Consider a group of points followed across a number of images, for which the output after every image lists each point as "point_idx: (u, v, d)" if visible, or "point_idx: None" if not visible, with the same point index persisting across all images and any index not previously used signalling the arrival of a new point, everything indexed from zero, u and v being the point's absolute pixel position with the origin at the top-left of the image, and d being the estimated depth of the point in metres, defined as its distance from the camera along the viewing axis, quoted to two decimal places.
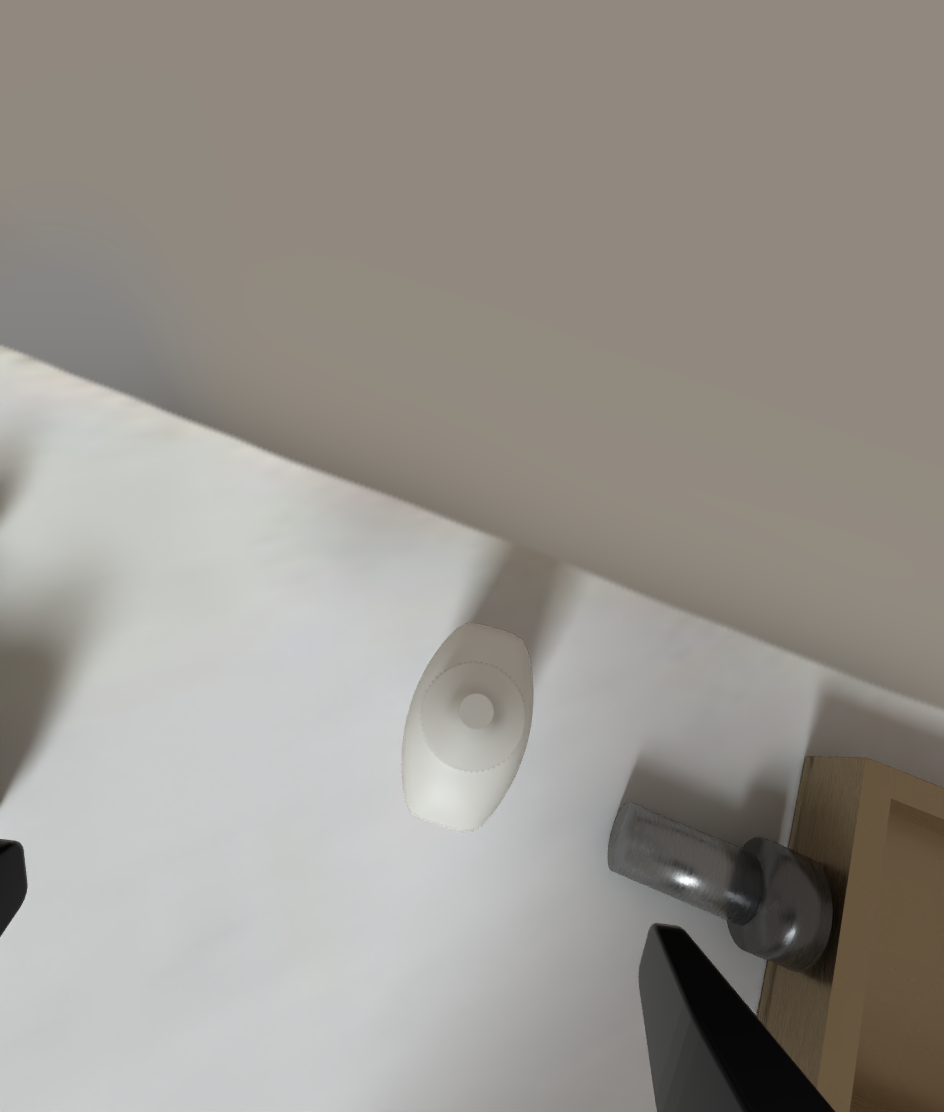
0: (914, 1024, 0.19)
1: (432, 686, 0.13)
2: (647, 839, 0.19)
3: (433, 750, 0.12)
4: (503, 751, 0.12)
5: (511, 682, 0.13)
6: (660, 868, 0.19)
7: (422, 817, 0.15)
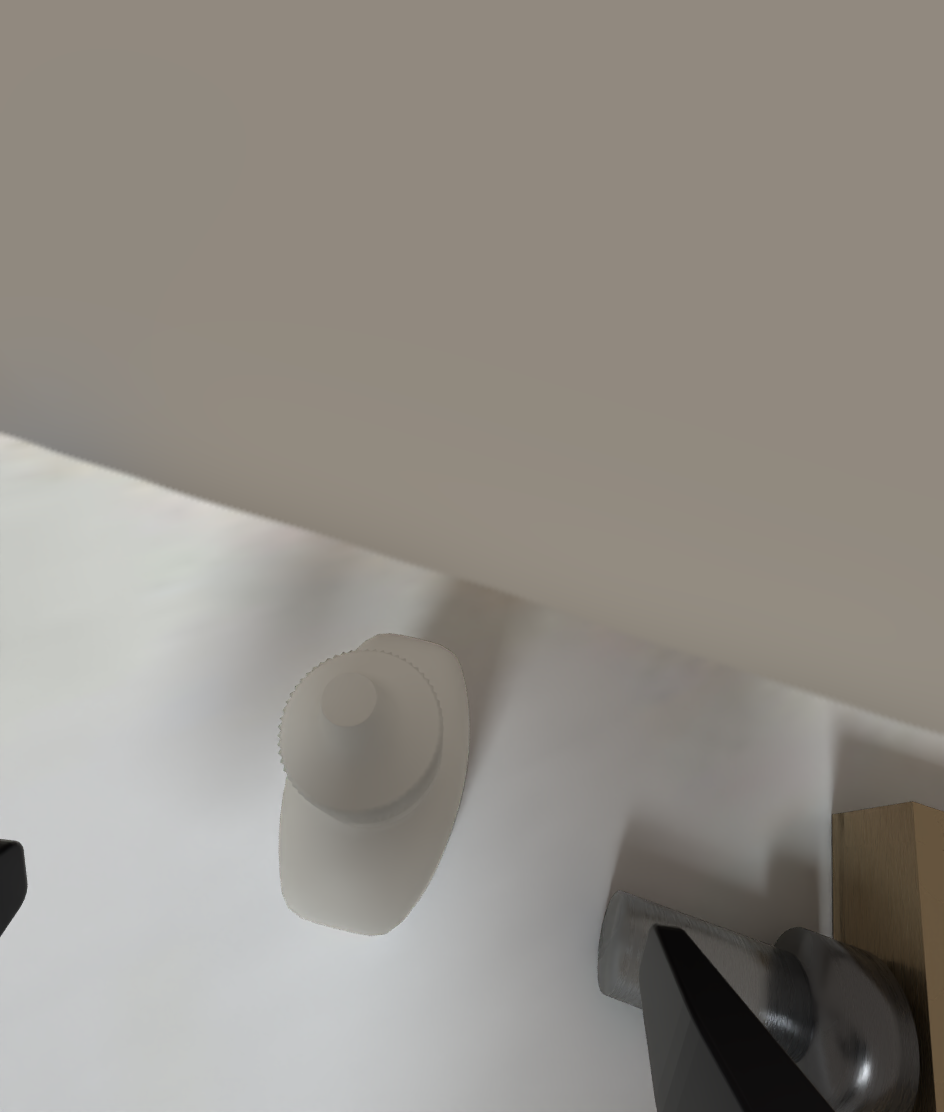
0: None
1: (299, 686, 0.08)
2: None
3: (295, 782, 0.08)
4: (405, 777, 0.08)
5: (418, 674, 0.09)
6: None
7: (305, 915, 0.10)
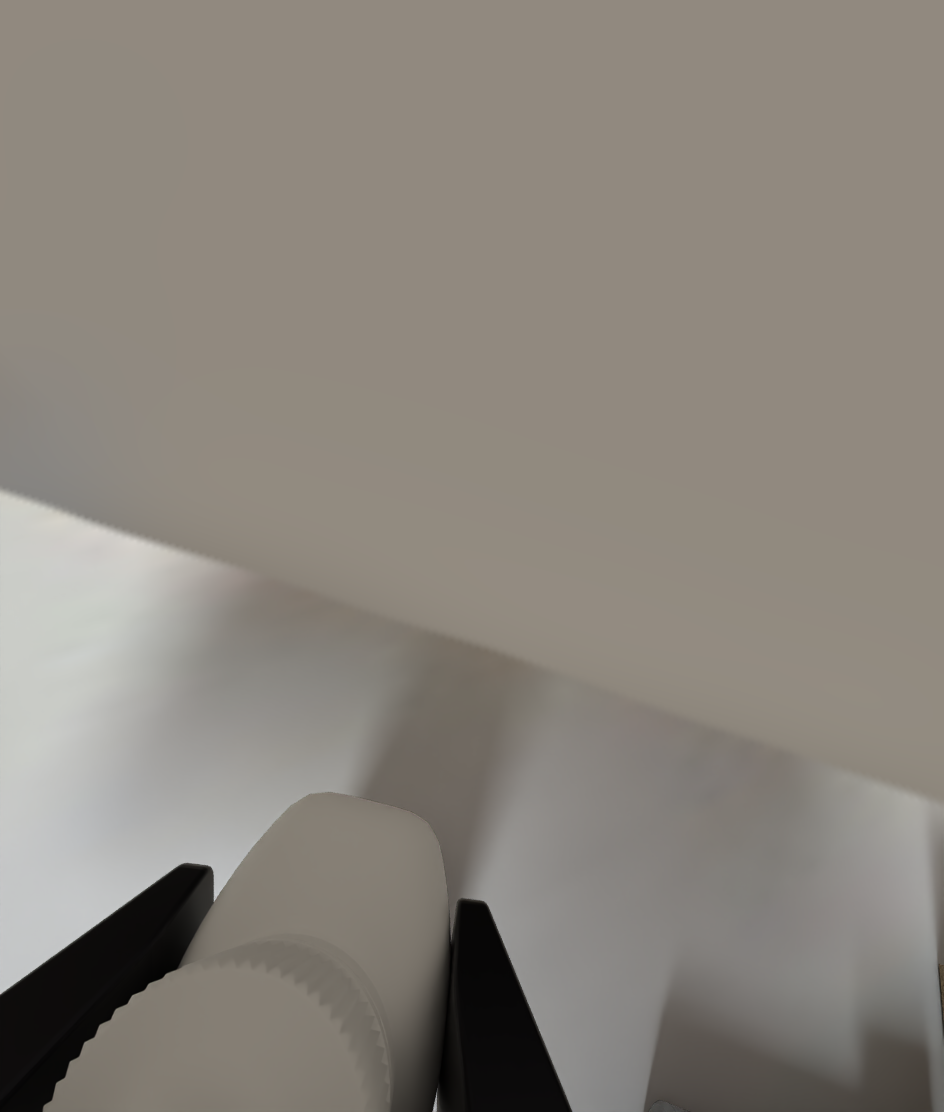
0: None
1: (73, 1072, 0.04)
2: None
3: None
4: None
5: (330, 1030, 0.04)
6: None
7: None
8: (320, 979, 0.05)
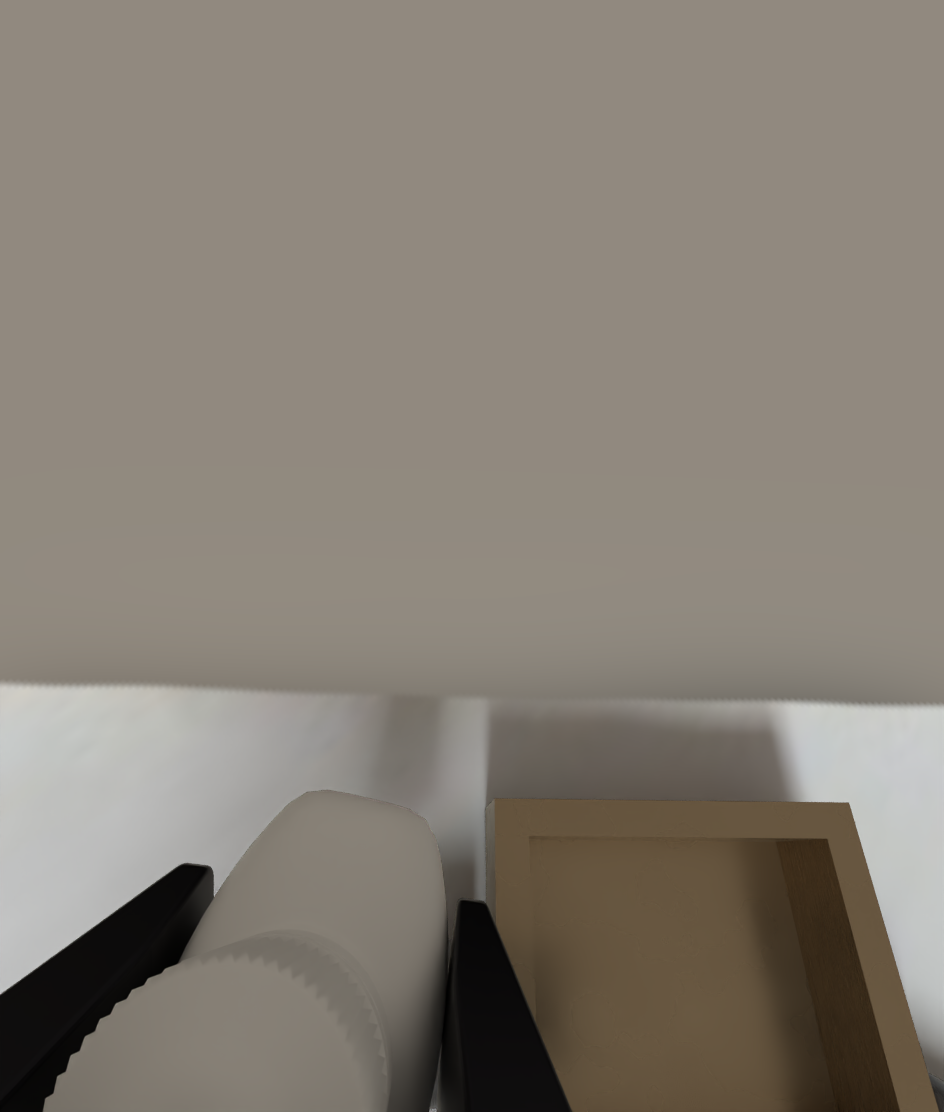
0: (658, 1093, 0.16)
1: (73, 1065, 0.04)
2: None
3: None
4: None
5: (327, 1022, 0.04)
6: None
7: None
8: (317, 973, 0.05)
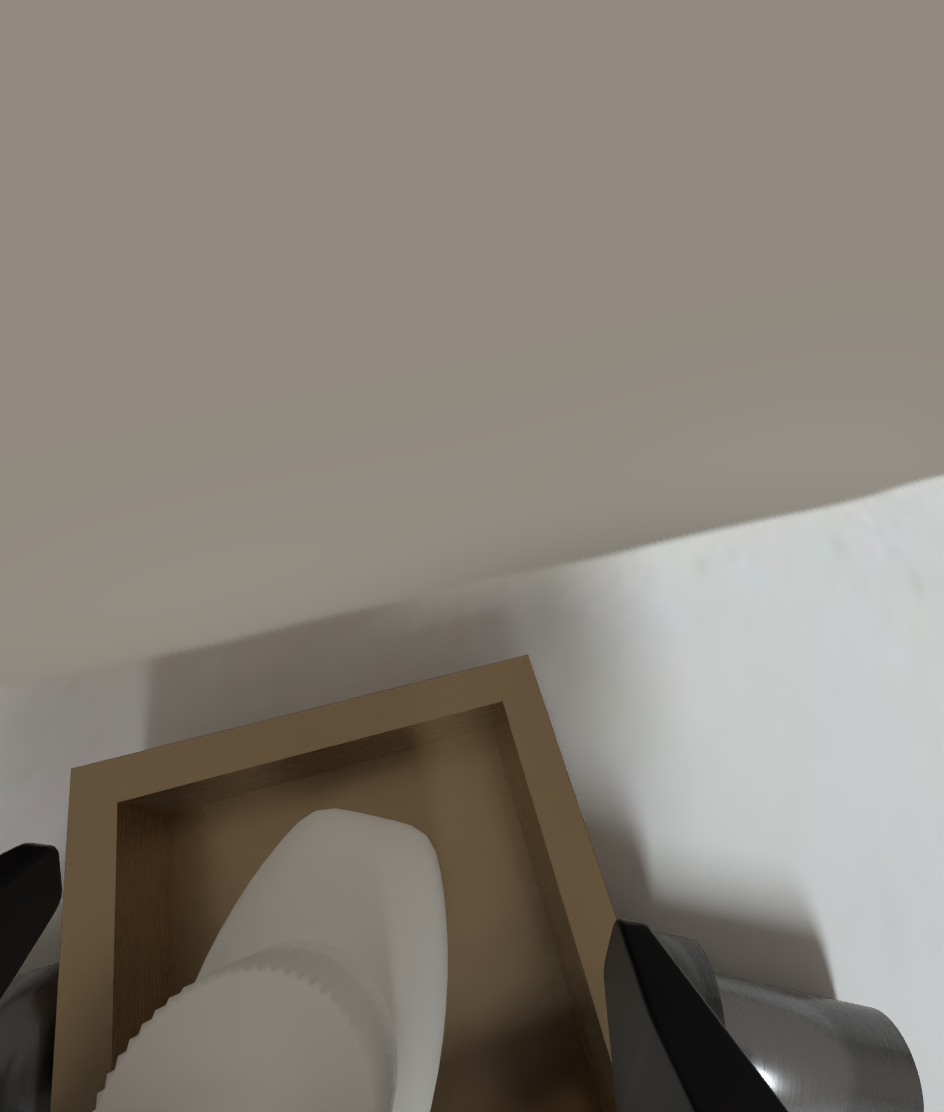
0: None
1: (121, 1064, 0.05)
2: None
3: None
4: None
5: (341, 1024, 0.05)
6: None
7: None
8: (331, 980, 0.05)
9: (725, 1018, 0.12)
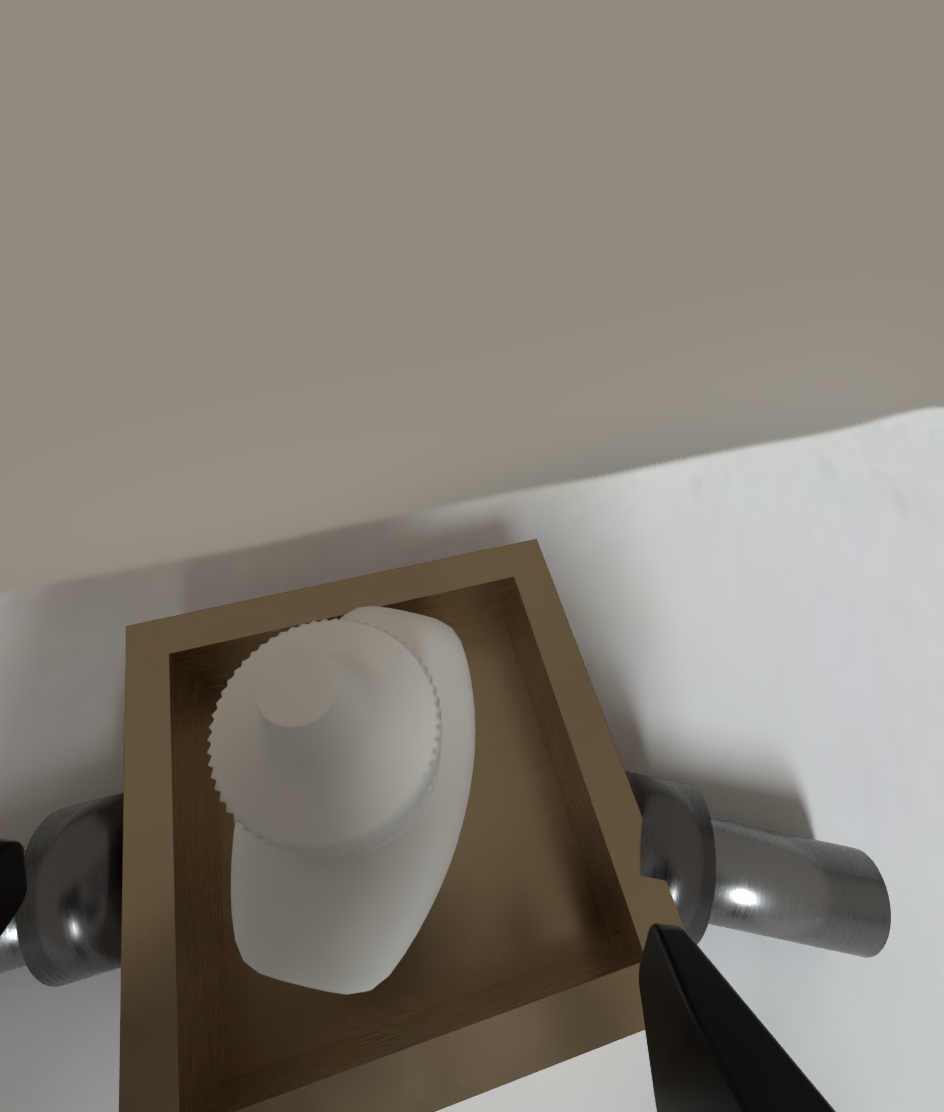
0: None
1: (239, 670, 0.06)
2: None
3: (230, 808, 0.05)
4: (388, 796, 0.05)
5: (406, 652, 0.06)
6: None
7: (264, 971, 0.07)
8: None
9: (714, 843, 0.14)
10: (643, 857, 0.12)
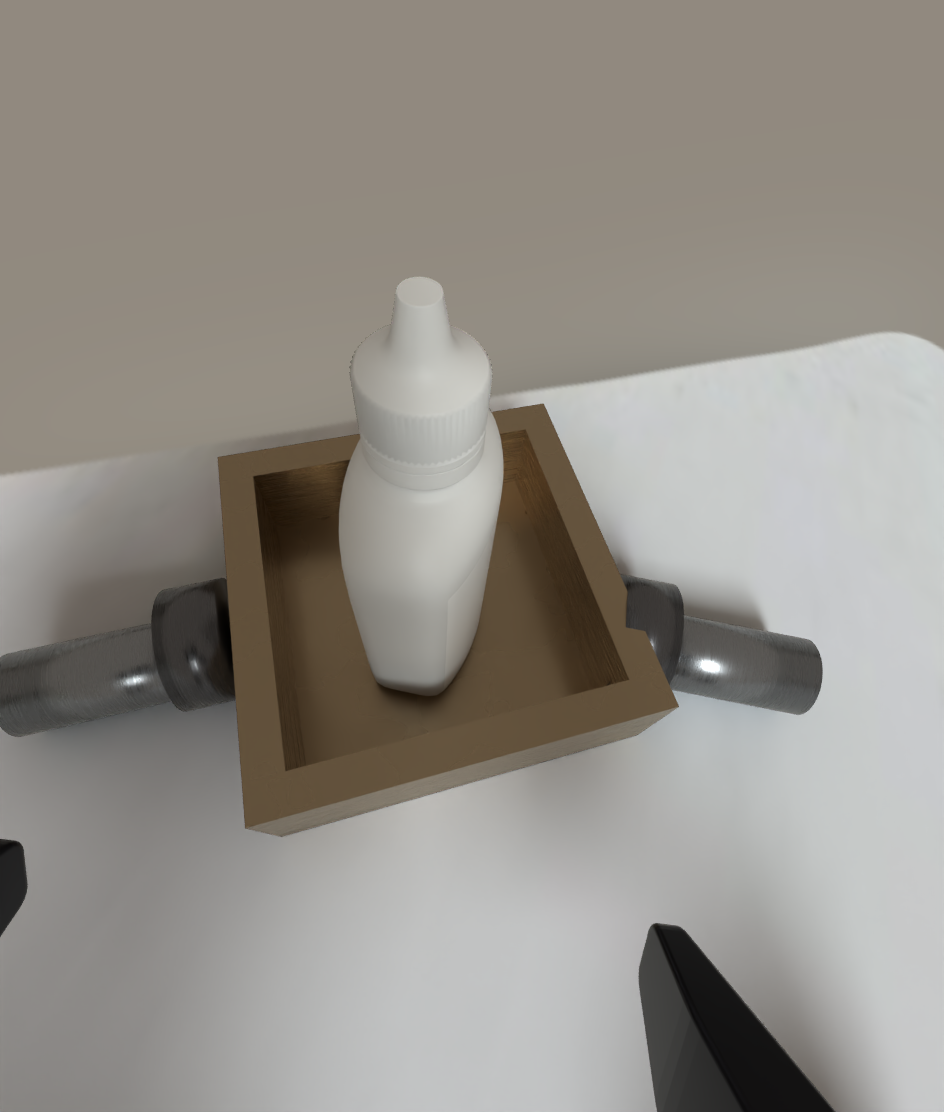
0: None
1: (366, 338, 0.10)
2: (12, 668, 0.15)
3: (368, 397, 0.09)
4: (463, 394, 0.09)
5: (468, 334, 0.10)
6: (39, 687, 0.15)
7: (366, 579, 0.11)
8: None
9: (685, 623, 0.17)
10: (627, 615, 0.16)
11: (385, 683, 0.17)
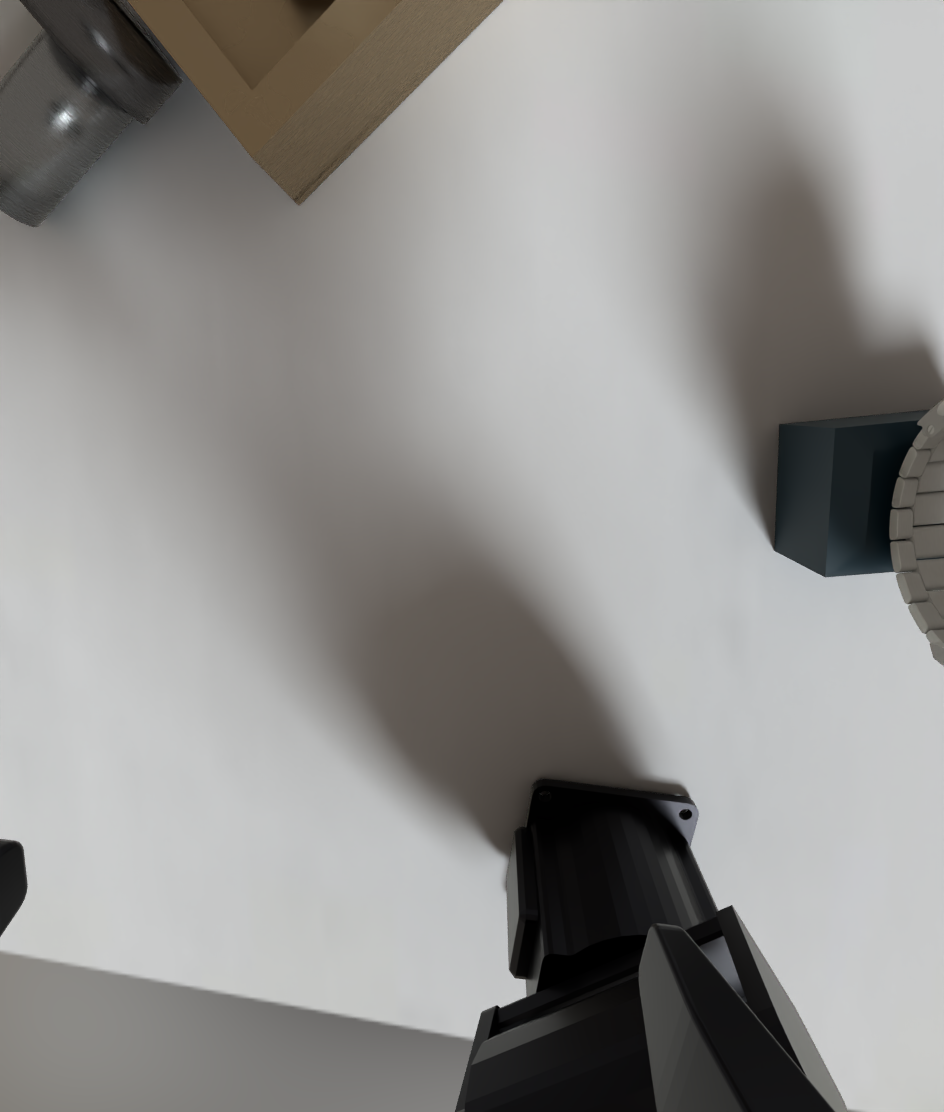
0: None
1: None
2: None
3: None
4: None
5: None
6: (0, 155, 0.15)
7: None
8: None
9: None
10: None
11: None
